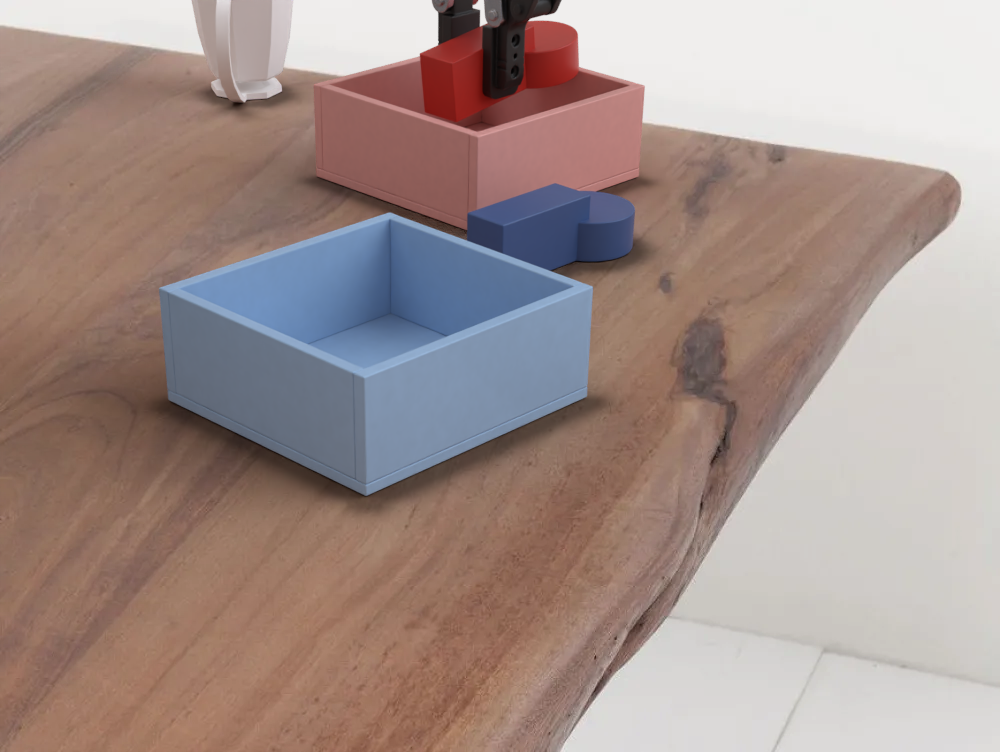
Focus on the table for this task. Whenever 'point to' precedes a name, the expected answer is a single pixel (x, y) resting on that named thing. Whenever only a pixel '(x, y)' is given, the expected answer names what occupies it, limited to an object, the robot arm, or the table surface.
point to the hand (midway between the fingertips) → (480, 87)
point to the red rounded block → (459, 68)
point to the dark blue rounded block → (555, 226)
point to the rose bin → (474, 140)
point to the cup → (244, 45)
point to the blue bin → (376, 348)
